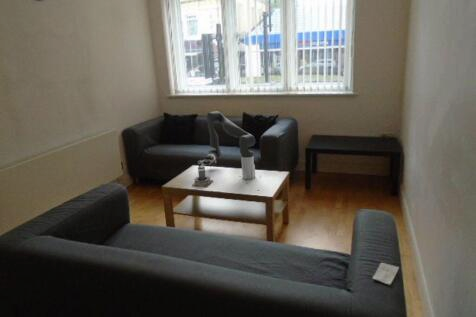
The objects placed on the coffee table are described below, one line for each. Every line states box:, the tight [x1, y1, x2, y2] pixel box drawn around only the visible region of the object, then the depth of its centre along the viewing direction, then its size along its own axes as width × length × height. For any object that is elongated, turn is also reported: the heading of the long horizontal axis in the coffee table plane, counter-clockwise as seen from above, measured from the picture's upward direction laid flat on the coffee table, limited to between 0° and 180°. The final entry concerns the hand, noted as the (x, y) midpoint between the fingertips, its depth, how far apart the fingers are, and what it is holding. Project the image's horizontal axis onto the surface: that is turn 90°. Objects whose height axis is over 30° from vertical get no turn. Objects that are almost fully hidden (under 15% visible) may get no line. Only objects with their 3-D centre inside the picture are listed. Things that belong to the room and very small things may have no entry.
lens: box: [197, 165, 207, 180], centre depth 278 cm, size 5×5×12 cm
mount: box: [191, 175, 214, 188], centre depth 279 cm, size 12×12×4 cm
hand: (204, 165), depth 285 cm, fingers open, 8 cm apart
